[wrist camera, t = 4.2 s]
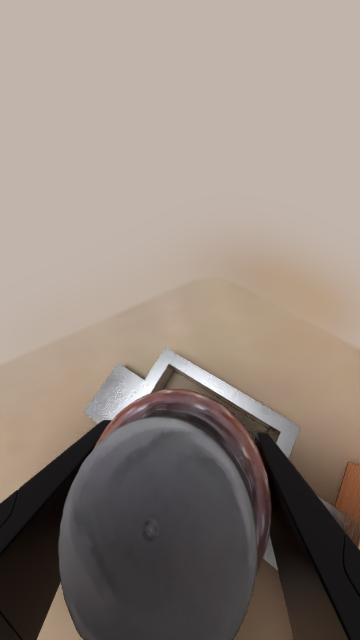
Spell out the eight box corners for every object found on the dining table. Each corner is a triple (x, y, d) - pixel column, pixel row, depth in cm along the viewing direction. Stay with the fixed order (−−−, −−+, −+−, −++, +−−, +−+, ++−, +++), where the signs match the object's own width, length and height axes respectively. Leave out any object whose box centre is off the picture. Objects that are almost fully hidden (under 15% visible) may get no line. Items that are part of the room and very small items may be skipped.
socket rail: (648, 641, 9) (788, 713, 7) (676, 1000, 7) (912, 1296, 4) (142, 339, 18) (133, 328, 16) (68, 445, 15) (44, 451, 13)
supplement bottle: (210, 529, 13) (222, 1038, 2) (130, 466, 14) (-63, 594, 4) (251, 431, 14) (361, 472, 4) (176, 385, 16) (120, 334, 6)
